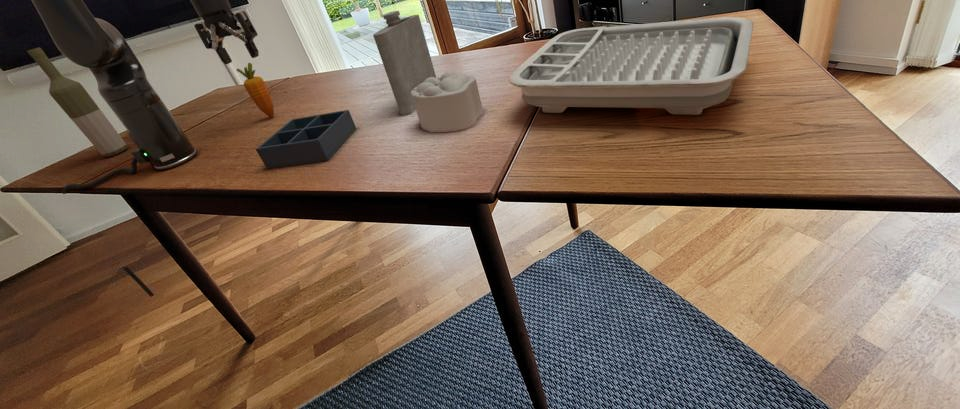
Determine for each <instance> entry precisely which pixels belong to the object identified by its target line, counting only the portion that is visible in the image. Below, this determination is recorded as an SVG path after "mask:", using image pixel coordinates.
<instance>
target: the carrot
mask: <svg viewBox="0 0 960 409" xmlns="http://www.w3.org/2000/svg"><path fill="white" fill-rule="evenodd" d="M236 72H238V73H240V74H241V75H242V76H243V77H245V78H246V80H244V81H243V87H244V88H245V91H246V92H247V94H248V95H249V97H250V98H251V100H252V101H253V103H254V104H255V105H256V106H257V107H258V109H259V110H260V111H261V112H262V113H263V114H265V115H266V116H267V117H269V118H270V119H273V118H274V116H275V114H274V113H275V108H274V103H273V99H272V97H271V94H270V92H269V89H268V86H267V85H266V82H265V81H264V79H263V77H261V76H258V75H257V76H254V75H255V73H256V69H253V63H251V62H247V66H244V67H243V70H242V69H241V68H236Z"/></svg>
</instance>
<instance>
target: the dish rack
mask: <svg viewBox="0 0 960 409" xmlns="http://www.w3.org/2000/svg"><path fill="white" fill-rule="evenodd" d="M753 32H754V22H753V21H752V20H751V19H748V18H745V17H741V16H722V17H709V18H697V19H686V20H674V21H673V20H672V21H662V22H649V23H637V24H636V23H635V24H628V25H627V24H626V25H616V26H615V25H614V26H606V25H604V26H603V25H602V26H594V27H593V26H592V27H582V28H575V29H570V30H567V31H564V32H560V33H559V34H557V35H555V36H554V37H552V38H551V39H549V41H547V42H545V44H544V45H543V46H541V47H540V48H539V49H538V50H537V51H535V52H534V53H533V54H532V55H531V56H530V57H528V58H527V59H526V60H525V61H524V62H522V63H521V64H520V65H519V66H517V68H516V69H515V70H514V71H513V72H512V73H510V75H509V77H508V82H509V84H510V85H512V86H514V87H517V88H520V89H521V96H522V97H521V98H522V100H523V102H524V103H525V104H528V105H531V106H535V107H540V108H541V110H542V112H543V113H544V114H545V113H546V114H548V113H549V114H561V113H563V112H565V110H566V109H567V108H630V109H631V108H632V109H633V108H634V109H665V111H667V112H668V113H669V114H671V115H694V116H695V115H697V116H698V115H701V114H702V112H703V110H704V109H708V108H710V107H712V106H717V105H720V104H721V103H723V102H725V101H726V100H727V99H728V98H730V94H731V92H732V89H733V85H734V81H735V79H737V78H739V77H741V75H743V74H744V73H745V71H746V69H747V67H748V61H749V56H750V49H751V43H752V36H753Z"/></svg>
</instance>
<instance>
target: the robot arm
mask: <svg viewBox="0 0 960 409" xmlns="http://www.w3.org/2000/svg"><path fill="white" fill-rule="evenodd" d="M31 2H32V4H33V5H34V7H35V9H36V11H37V13H38V15H39V16H40V18H41V20H42V22H43V24H44V26H45V28H46V30H47V31H48V34H49V35H50V37H51V39H52V42H53V43H54V44H55V46H56V48H57V49H58V51H59V52H60V53H61V54H62V55H63V56H64V57H65V58H66V59H68V60H69V61H70V62H72V63H74V64H75V65H78V66H80V67H83V68H87V69H89V70H90V72H91V74H92V75H93V77H94V78H95V80H96V83H97V90H98V93H99V95H100V97H101V98H102V99H103V100H104V102H106V104H107V105H108V107H109V108H110V109H111V111H112V113H114V114H115V116H116V117H117V119H118V120H119V121H120V122H121V124H122V125H123V126H124V128H125V130H127V132H128V133H127V136H128V137H129V138H130V140H131V141H132V142H133V144H134V145H135V146H136V149H134V150H133V151H130V153H131V155H132V156H133V158H132V160H131V163H130V166H131V169H130V168H119V169H116V170H113V171H111V172H108V173H107V174H105V175H104V176H102V177H100V178H98V179H96V180H93V181H91V182H88V183H82V184H81V183H79V184H78V183H69V184H66V185H65V186H64V187H63V189H62V195H66V194H68V193H69V191H70V189H90V188H92V187H95V186H97V185H99V184H101V183H103V182H105V181H107V180H109V179H111V178H113V177H115V176H118V175H119V174H122V173H126V174H129V175H134V174H136V173H137V172H138V165H137V163H139V165H140V164H141V165H142V164H147V163H149V164H150V166H151V167H152V169H156V170H157V171H165V170H170V169H172V168H175V167H178V166H180V165H182V164H184V163H187V162H189V161H190V160H192V159H193V158H195V157H196V156H197V154H198V150H197V149H196V148H195V147H194V146H193V144H192V143H191V141H190V140H189V138H188V137H187V135H186V134H185V132H184V131H183V129H182V128H181V127H180V125H179V124H178V122H177V121H176V119H175V118H174V116H173V115H172V113H171V112H170V110H169V109H168V107H167V105H166V104H165V102H164V101H163V100H162V98H161V97H160V96H159V94H158V93H157V91H156V90H155V88H154V87H153V85H152V84H151V82H150V81H149V78H148V77H147V73H146V70H145V68H144V67H143V65H142V64H141V62H140V60H139V58H137V56H136V54H135V53H134V51H133V49H132V48H131V46H130V45H129V43H128V42H127V41H126V39H125V37H124V36H123V35H122V34H121V32H120V31H119V30H118V29H117V27H115V26H113V25H112V24H111V23H110V22H108V21H106V20H104V19H102V18H98V17H94V15H93V14H92V13H91V11H90V10H89V8H88V6H87V5H86V3H85V2H84V1H83V0H31ZM189 2H190V3H191V5H192V6H193V8H194V10H195V12H196V13H197V15H198V17H200V18H201V19H202V20H203V21H201V22H197V23H195V24H193V26H194V29H195V30H196V32H197V34H198V36H199V38H200V40H201V42H202V43H203V46H204V47H205V48H206V49H207V50H210V49H211V50H214V51H215V52H216V54H217V55H218V58H219V59H220V61H221V62H222V63H223V64H224V65H229V64H231V63H232V62H233V60H232V58H231V56H230V55H229V53H228V51H227V49H226V47H225V46H224V40H225V37H231V36H233V37H235V38H237V39H239V40H240V41H242V42H243V43H244V46H245V48H246V50H247V52H248V54H249V56H250V57H251V59H254V58H257V57H259V55H260V54H259V53H260V52H259V49H258V47H257V46H256V44H255V42H254V39H255V38H256V37H257V36H258V35H259V34H258V32H257V30H256V28H255V27H254V25H253V23H252V21H251V20H250V17H249V16H248V14H247V12H246V11H244V10H241V11H238V12H236V13H234V12H233V11H232V6H231V3H230V1H229V0H189ZM121 268H122V269H123V270H124V272H126V273H127V274H128V275H129V276H130V277H131V279H133V281H134V282H136V283H137V284H138V286H139V287H140V288H142V290H143V291H144V292H145V293H146V295H148V296H149V298H152V297H154V296H155V294H154V293H153V292H152V290H150V288H149V287H148V286H147V285H146V284H145V283H144V282H143V281H142V280H141V279H140V278H139V277H138V276H137V275H136V273H134V272H133V271H132V270H131V269H130V267H128V266H123V267H122V266H121Z"/></svg>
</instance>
